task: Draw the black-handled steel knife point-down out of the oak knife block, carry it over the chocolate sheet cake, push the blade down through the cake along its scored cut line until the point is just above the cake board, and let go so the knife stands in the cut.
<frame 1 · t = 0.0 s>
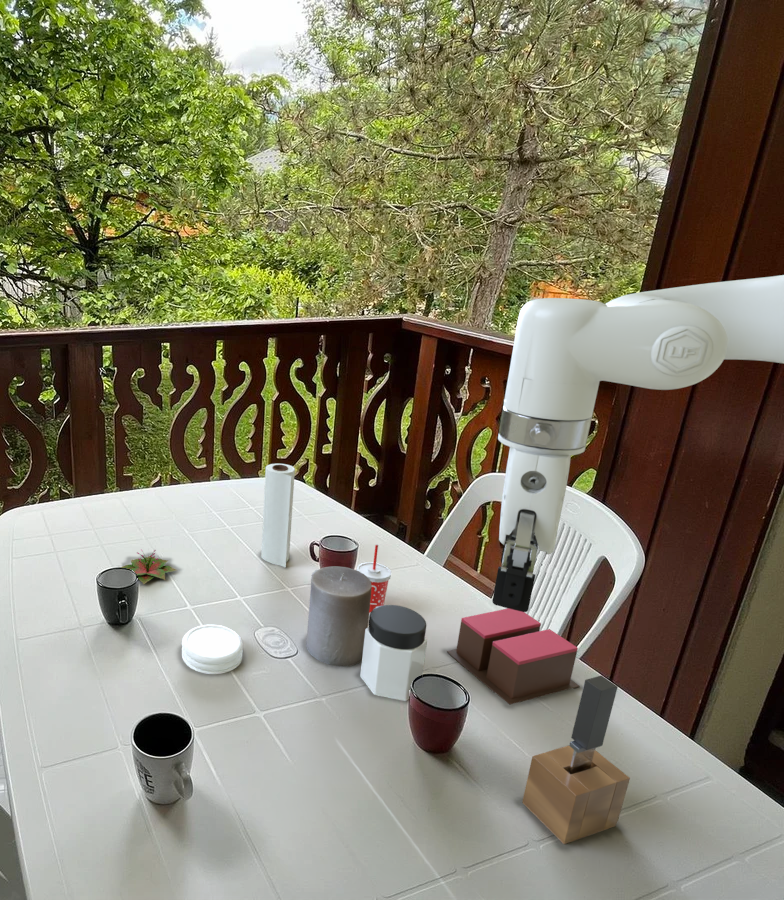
hand: (513, 585, 67), 31 cm above the table, tool pointing down, fingers open, 9 cm apart
beverage cup: (369, 613, 118), on the table
coaster: (211, 659, 105), on the table
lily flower: (147, 572, 133), on the table
jar: (389, 686, 99), on the table
paper towel roll: (274, 561, 137), on the table
cake: (509, 672, 102), on the table
pillar candle: (334, 653, 107), on the table
knife block: (566, 819, 76), on the table
knife: (568, 813, 76), point 1 cm above the table, touching knife block
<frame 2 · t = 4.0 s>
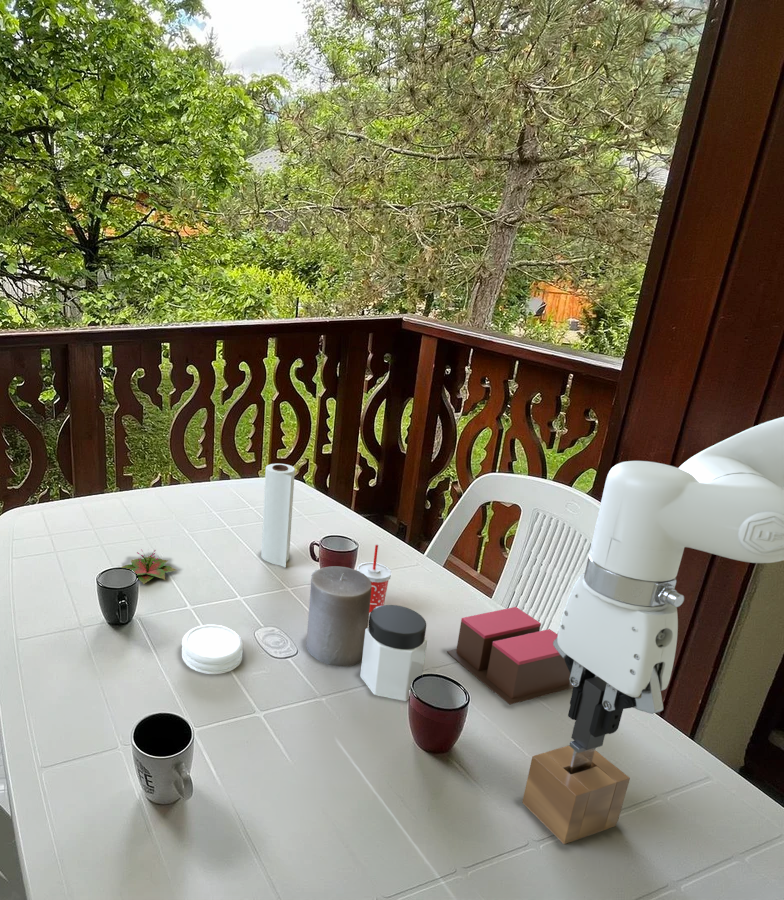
hand: (591, 723, 72), 14 cm above the table, tool pointing down, fingers closed on knife, 2 cm apart
knife: (568, 813, 76), point 1 cm above the table, touching gripper, knife block
everything else where it was.
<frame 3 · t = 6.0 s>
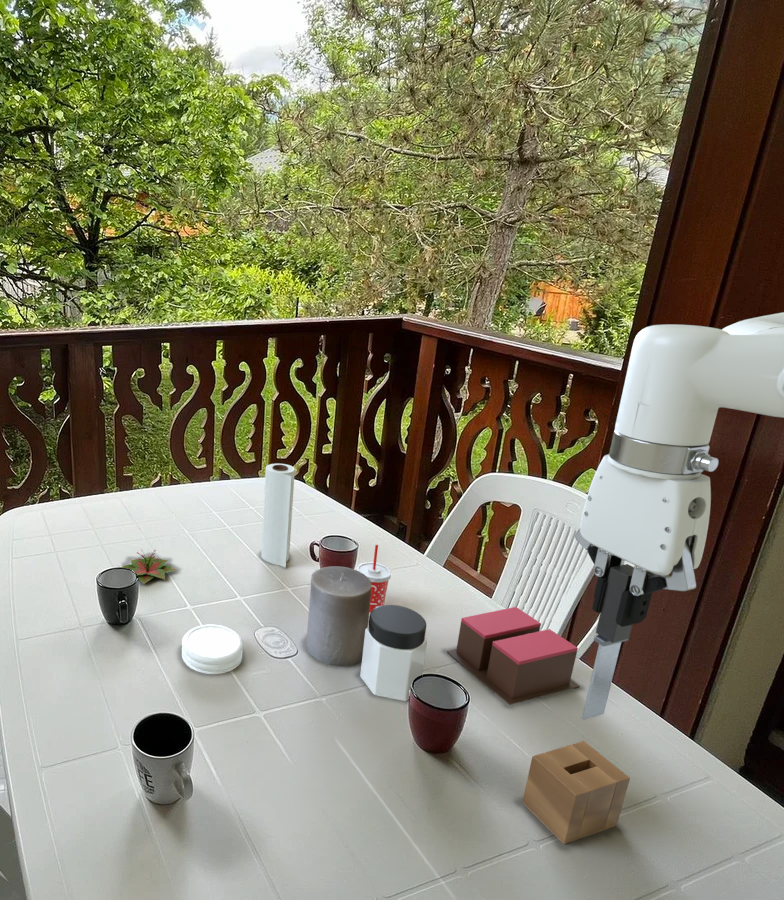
hand: (617, 615, 68), 28 cm above the table, tool pointing down, fingers closed on knife
knife: (592, 716, 72), point 15 cm above the table, touching gripper
everything else where it was.
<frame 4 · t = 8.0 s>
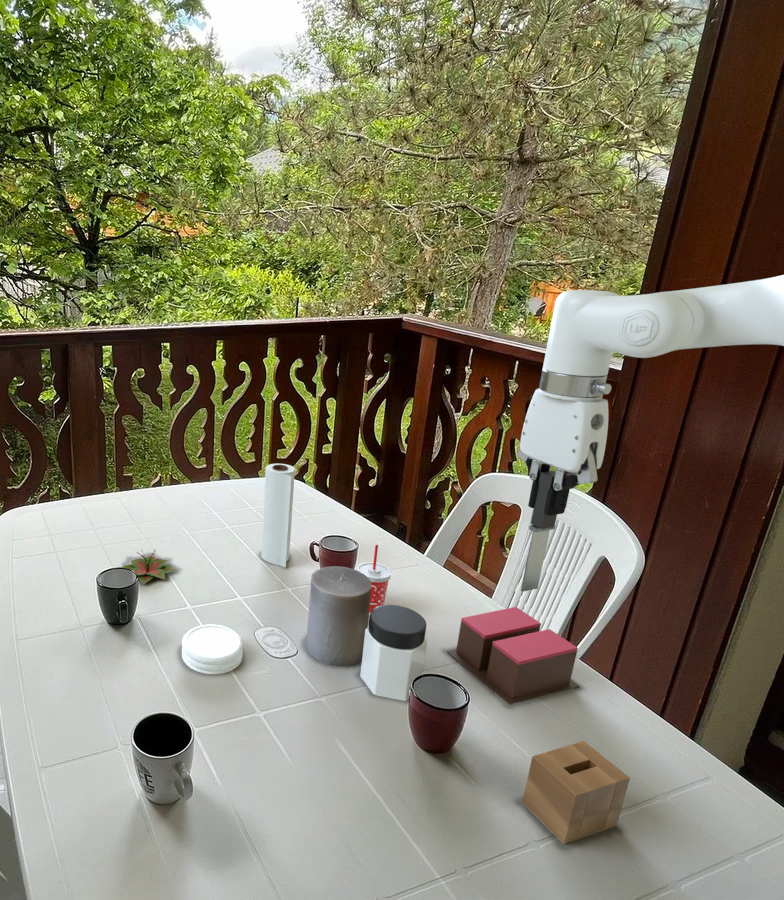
hand: (545, 509, 91), 29 cm above the table, tool pointing down, fingers closed on knife
knife: (529, 589, 95), point 16 cm above the table, touching gripper
everything else where it was.
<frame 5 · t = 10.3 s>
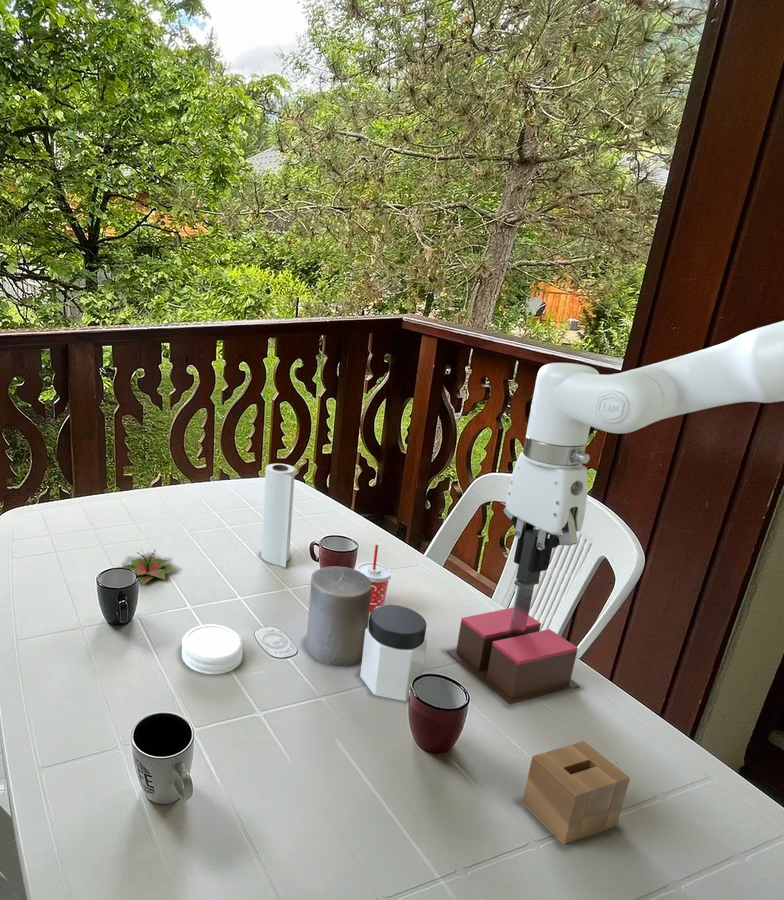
hand: (530, 565, 96), 19 cm above the table, tool pointing down, fingers closed on knife
knife: (515, 639, 100), point 6 cm above the table, touching gripper
everything else where it was.
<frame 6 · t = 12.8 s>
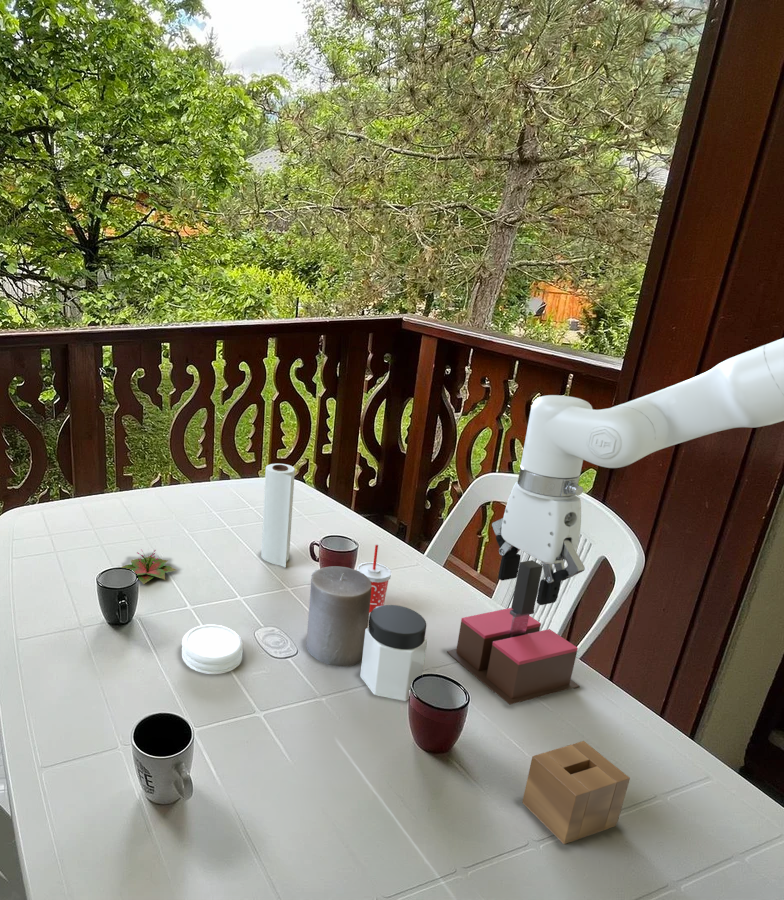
hand: (526, 589, 97), 15 cm above the table, tool pointing down, fingers open, 6 cm apart
knife: (510, 668, 102), point 1 cm above the table, touching cake
everything else where it was.
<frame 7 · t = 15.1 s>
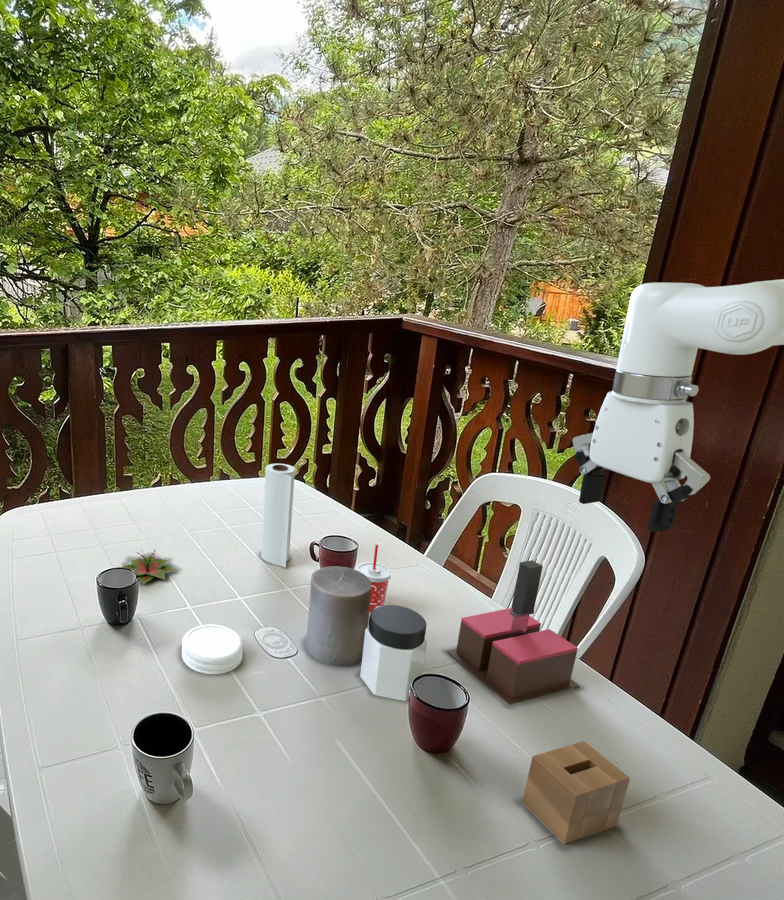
hand: (622, 515, 83), 32 cm above the table, tool pointing down, fingers open, 9 cm apart
nothing on the table moved.
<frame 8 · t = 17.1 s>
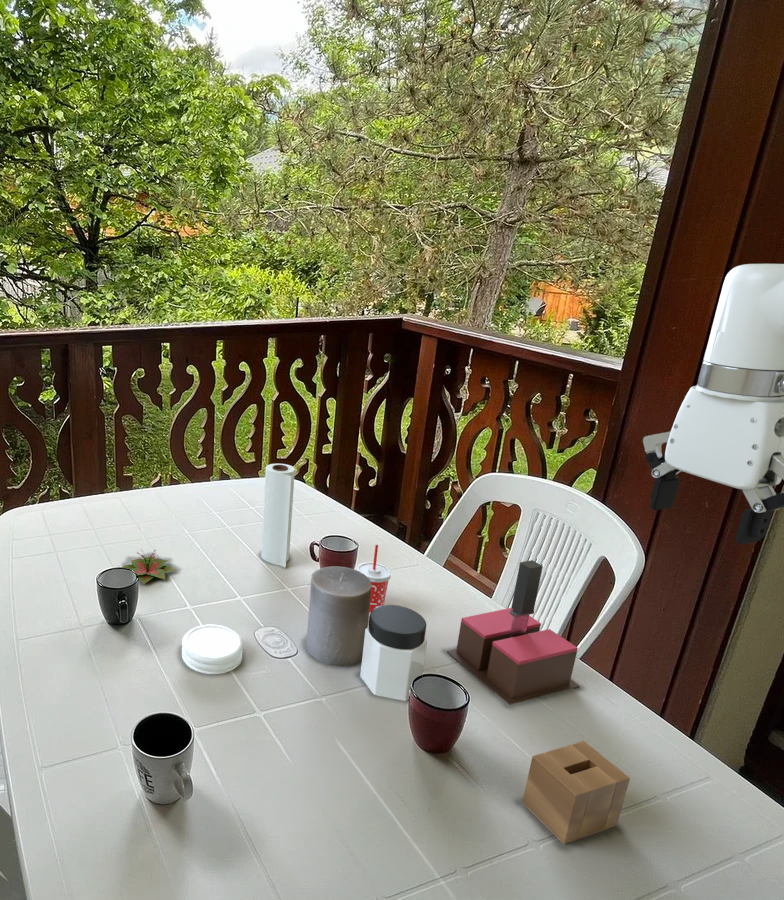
hand: (701, 524, 75), 34 cm above the table, tool pointing down, fingers open, 9 cm apart
nothing on the table moved.
at the end: knife 0.1 cm off-centre on the cake, point 1.0 cm above the cake's base; knife tilted 0°; the gripper is holding nothing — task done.
